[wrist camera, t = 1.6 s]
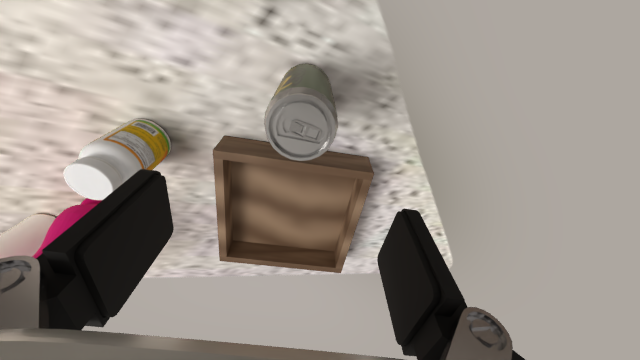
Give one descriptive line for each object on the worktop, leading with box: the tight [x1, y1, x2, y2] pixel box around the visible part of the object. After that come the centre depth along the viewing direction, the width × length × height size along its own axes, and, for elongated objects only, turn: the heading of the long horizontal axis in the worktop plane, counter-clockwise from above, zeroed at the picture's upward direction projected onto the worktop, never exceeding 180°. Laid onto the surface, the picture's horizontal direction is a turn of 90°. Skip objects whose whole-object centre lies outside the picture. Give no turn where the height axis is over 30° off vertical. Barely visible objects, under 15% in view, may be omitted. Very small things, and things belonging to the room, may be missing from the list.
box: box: [213, 136, 374, 273], centre depth 35 cm, size 18×18×4 cm
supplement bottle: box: [64, 119, 171, 200], centre depth 27 cm, size 5×5×10 cm
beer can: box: [264, 64, 338, 161], centre depth 23 cm, size 5×5×12 cm
